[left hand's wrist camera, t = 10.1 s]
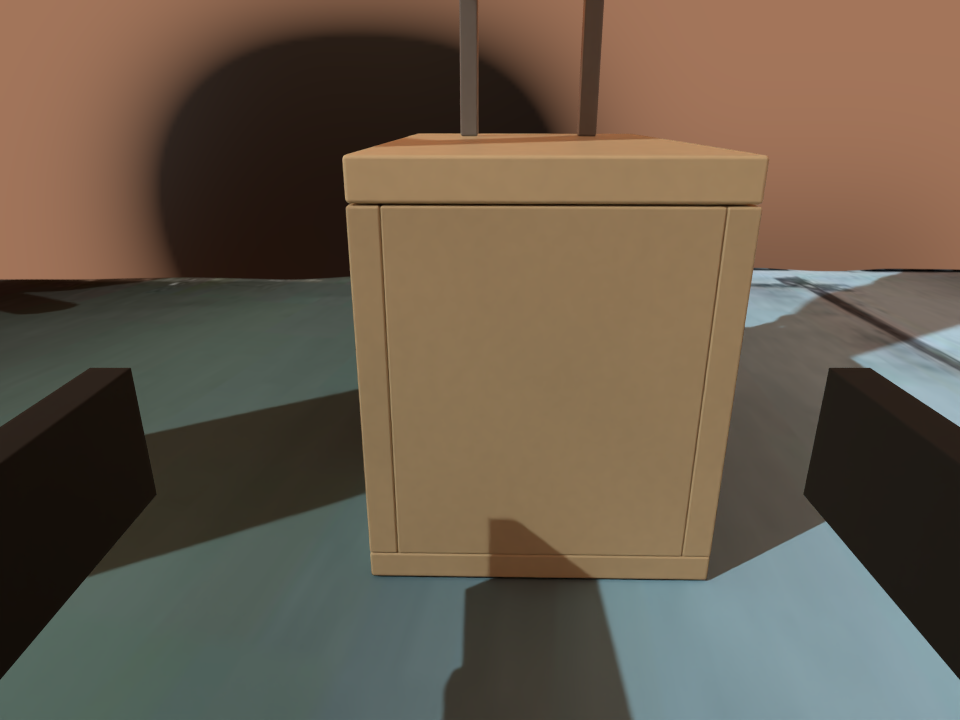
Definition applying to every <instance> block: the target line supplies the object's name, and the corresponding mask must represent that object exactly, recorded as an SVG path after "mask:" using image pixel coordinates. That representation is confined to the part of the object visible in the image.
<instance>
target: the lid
mask: <svg viewBox="0 0 960 720" xmlns="http://www.w3.org/2000/svg"><path fill="white" fill-rule="evenodd" d="M603 9H604V0H584V6H583V26H582V46H581V66H580V86H579V106H578V126H577V134H478V0H460V106H461V134H416V135H413V136H409V137H405V138H402V139H399V140H395V141H392V142H388V143H385V144H381V145H378V146H374V147H371V148H367V149H364V150H361V151H357V152H354V153H350V154H347V155H344V156H343V172H344V186H345V199H346V201H347V202H348V203H396V204H734V205H758V204H761V203H762V201H763V197H764V190H765V183H766V177H767V170H768V163H769V157H768V156H766V155H761V154H754V153H748V152H742V151H736V150H729V149H723V148H717V147H710V146H704V145H698V144H692V143H685V142H679V141H673V140H667V139H660V138H654V137H648V136H641V135H635V134H596V126H597V110H598V93H599V76H600V59H601V43H602V26H603Z"/></svg>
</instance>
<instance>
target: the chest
mask: <svg viewBox="0 0 960 720" xmlns="http://www.w3.org/2000/svg"><path fill="white" fill-rule="evenodd" d="M761 214H762V208H761V207H758V206H756V205H734V204H396V203H351V204H350V205H348V206H347V207H346V218H347V232H348V246H349V260H350V274H351V288H352V302H353V316H354V330H355V345H356V359H357V373H358V387H359V401H360V415H361V429H362V443H363V457H364V471H365V486H366V500H367V514H368V528H369V542H370V551H371V553H370V556H371V570H372V574H373V575H391V576H466V577H542V578H618V579H694V580H705V579H706V578H707V572H708V565H709V556H710V553H711V546H712V539H713V533H714V526H715V520H716V513H717V506H718V500H719V493H720V486H721V480H722V473H723V466H724V460H725V453H726V446H727V440H728V433H729V426H730V420H731V413H732V407H733V400H734V393H735V387H736V380H737V373H738V367H739V360H740V353H741V347H742V340H743V333H744V327H745V320H746V313H747V307H748V300H749V294H750V287H751V280H752V274H753V267H754V260H755V254H756V247H757V240H758V234H759V227H760V220H761Z"/></svg>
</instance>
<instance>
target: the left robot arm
mask: <svg viewBox="0 0 960 720" xmlns="http://www.w3.org/2000/svg"><path fill="white" fill-rule="evenodd" d="M155 496H156V490H155V485H154V480H153V475H152V470H151V465H150V460H149V455H148V450H147V445H146V440H145V436H144V431H143V426H142V421H141V416H140V411H139V406H138V401H137V396H136V391H135V386H134V381H133V377H132V372H131V368H89V369H88V370H86V371H85V372H83V373H82V374H80V375H79V376H77V377H75V378H74V379H72V380H71V381H69V382H68V383H66V384H65V385H63V386H62V387H60V388H59V389H57V390H56V391H54V392H53V393H51V394H50V395H48V396H47V397H45V398H44V399H42V400H41V401H39V402H38V403H36V404H35V405H33V406H31V407H30V408H28V409H27V410H25V411H24V412H22V413H21V414H19V415H18V416H16V417H15V418H13V419H12V420H10V421H9V422H7V423H6V424H4V425H3V426H1V427H0V679H1V678H2V677H3V676H4V675H5V673H6V672H7V671H8V670H9V669H10V667H11V666H12V665H13V664H14V663H15V662H16V660H17V659H18V658H19V657H20V656H21V654H22V653H23V652H24V651H25V650H26V648H27V647H28V646H29V645H30V644H31V643H32V641H33V640H34V639H35V638H36V637H37V635H38V634H39V633H40V632H41V631H42V630H43V628H44V627H45V626H46V625H47V624H48V622H49V621H50V620H51V619H52V618H53V616H54V615H55V614H56V613H57V612H58V611H59V609H60V608H61V607H62V606H63V605H64V603H65V602H66V601H67V600H68V599H69V598H70V596H71V595H72V594H73V593H74V592H75V590H76V589H77V588H78V587H79V586H80V584H81V583H82V582H83V581H84V580H85V579H86V577H87V576H88V575H89V574H90V573H91V571H92V570H93V569H94V568H95V567H96V566H97V564H98V563H99V562H100V561H101V560H102V558H103V557H104V556H105V555H106V554H107V552H108V551H109V550H110V549H111V548H112V547H113V545H114V544H115V543H116V542H117V541H118V539H119V538H120V537H121V536H122V535H123V534H124V532H125V531H126V530H127V529H128V528H129V526H130V525H131V524H132V523H133V522H134V520H135V519H136V518H137V517H138V516H139V515H140V513H141V512H142V511H143V510H144V509H145V507H146V506H147V505H148V504H149V503H150V502H151V500H152V499H153V498H154V497H155ZM804 496H805V497H806V498H807V499H808V500H809V502H810V503H811V504H812V505H813V506H814V507H815V509H816V510H817V511H818V512H819V513H820V515H821V516H822V517H823V518H824V519H825V520H826V522H827V523H828V524H829V525H830V526H831V528H832V529H833V530H834V531H835V532H836V534H837V535H838V536H839V537H840V538H841V539H842V541H843V542H844V543H845V544H846V545H847V547H848V548H849V549H850V550H851V551H852V552H853V554H854V555H855V556H856V557H857V558H858V560H859V561H860V562H861V563H862V564H863V566H864V567H865V568H866V569H867V570H868V571H869V573H870V574H871V575H872V576H873V577H874V579H875V580H876V581H877V582H878V583H879V584H880V586H881V587H882V588H883V589H884V590H885V592H886V593H887V594H888V595H889V596H890V598H891V599H892V600H893V601H894V602H895V603H896V605H897V606H898V607H899V608H900V609H901V611H902V612H903V613H904V614H905V615H906V616H907V618H908V619H909V620H910V621H911V622H912V624H913V625H914V626H915V627H916V628H917V630H918V631H919V632H920V633H921V634H922V635H923V637H924V638H925V639H926V640H927V641H928V643H929V644H930V645H931V646H932V647H933V648H934V650H935V651H936V652H937V653H938V654H939V656H940V657H941V658H942V659H943V660H944V662H945V663H946V664H947V665H948V666H949V667H950V669H951V670H952V671H953V672H954V673H955V675H956V676H957V677H958V678H959V679H960V427H959V426H957V425H956V424H954V423H953V422H951V421H950V420H948V419H947V418H945V417H944V416H942V415H941V414H939V413H938V412H936V411H935V410H933V409H932V408H930V407H929V406H927V405H925V404H924V403H922V402H921V401H919V400H918V399H916V398H915V397H913V396H912V395H910V394H909V393H907V392H906V391H904V390H903V389H901V388H900V387H898V386H897V385H895V384H894V383H892V382H891V381H889V380H888V379H886V378H884V377H883V376H881V375H880V374H878V373H877V372H875V371H874V370H872V369H871V368H829V372H828V377H827V381H826V386H825V391H824V396H823V401H822V406H821V411H820V416H819V421H818V426H817V431H816V436H815V440H814V445H813V450H812V455H811V460H810V465H809V470H808V475H807V480H806V485H805V490H804Z"/></svg>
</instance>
